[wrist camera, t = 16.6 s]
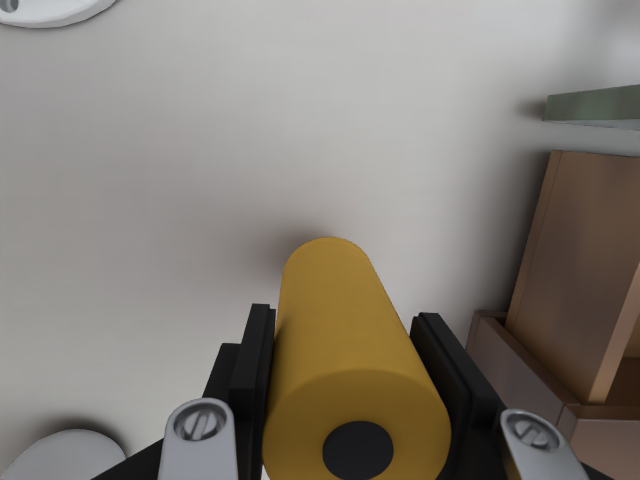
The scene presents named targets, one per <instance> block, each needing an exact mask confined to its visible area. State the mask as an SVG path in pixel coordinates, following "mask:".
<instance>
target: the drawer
mask: <svg viewBox="0 0 640 480" xmlns="http://www.w3.org/2000/svg"><path fill="white" fill-rule="evenodd" d="M542 121H547V122H558V123H568V124H579V125H589V126H600V127H611V128H621V129H632V130H640V84H638V85H630V86H621V87H613V88H605V89H597V90H588V91H580V92H572V93H564V94H555V95H549V96H548V99H547V103H546V106H545V110H544V114H543V118H542ZM504 329H505V330H506V331H507V332H508V333H510V334H511V335H512V336H513V337H514V338H515V339H516V340H517V341H518V342H519V343H520V344H521V345H522V346H523V347H524V348H525V349H526V350H527V351H528V352H529V353H530V354H531V355H532V356H533V357H534V358H535V359H536V360H537V361H538V362H539V363H540V364H541V365H542V366H543V367H544V368H545V369H546V370H547V371H548V372H549V373H550V374H551V375H552V376H553V377H554V378H555V379H556V380H557V381H558V382H559V383H560V384H561V385H562V386H563V387H564V388H565V389H566V390H567V391H568V392H569V393H570V394H571V395H572V396H573V397H574V398H575V399H576V400H577V401H578V402H579V403H580V404H581V405H587V406H621V407H640V157H631V156H620V155H609V154H597V153H586V152H575V151H563V150H552V151H551V155H550V159H549V162H548V166H547V170H546V174H545V177H544V181H543V185H542V188H541V192H540V196H539V200H538V203H537V207H536V211H535V215H534V218H533V222H532V226H531V229H530V233H529V237H528V241H527V244H526V248H525V252H524V256H523V259H522V263H521V267H520V270H519V274H518V278H517V282H516V285H515V289H514V293H513V297H512V300H511V304H510V308H509V311H508V315H507V319H506V323H505V326H504Z"/></svg>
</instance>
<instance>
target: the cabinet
mask: <svg viewBox="0 0 640 480" xmlns="http://www.w3.org/2000/svg"><path fill="white" fill-rule="evenodd" d="M507 315H508V312H494V311H475V312H474V317H473V321H472V325H471V329H470V333H469V338H468V342H467V346H466V352H467V353H468V354H469V356H470V357H471V358H472V360H473V361H474V363H475V364H476V365H477V367H478V368H479V369H480V371H481V372H482V373H483V375H484V376H485V377H486V379H487V380H488V382H489V383H490V384H491V386H492V387H493V388H494V390H495V391H496V392H497V394H498V395H499V396H500V399H501V400H502V401H503V403H504V404H505V406H506V407H507V408H508V409H512V408H517V409H524V410H528V411H531V412H534V413H536V414H538V415H540V416H542V417H544V418H545V419H547V420H549V421H550V422H552V423H553V424H554V425H555V426H556V427H557V428H558V429H559V430H560V431H561V432H562V433H563V435H564V436H565V437H566V439H567V441H568V443H569V444H570V446H571V448H572V449H573V451H574V453H575V454H576V456H577V458H578V460H579V461H581V462H583V463H585V464H587V465H589V466H590V467H592V468H594V469H596V470H598V471H600V472H602V473H603V474H605V475H607V476H609V477H611V478H613V479H615V480H640V407H621V406H587V405H581V404H580V403H579V402H578V401H577V400H576V399H575V398H574V397H573V396H572V395H571V394H570V393H569V392H568V391H567V390H566V389H565V388H564V387H563V386H562V385H561V384H560V383H559V382H558V381H557V380H556V379H555V378H554V377H553V376H552V375H551V374H550V373H549V372H548V371H547V370H546V369H545V368H544V367H543V366H542V365H541V364H540V363H539V362H538V361H537V360H536V359H535V358H534V357H533V356H532V355H531V354H530V353H529V352H528V351H527V350H526V349H525V348H524V347H523V346H522V345H521V344H520V343H519V342H518V341H517V340H516V339H515V338H514V337H513V336H512V335H511V334H510V333H508V332H507V331H506V330H505V329H504V326H505V323H506V319H507Z"/></svg>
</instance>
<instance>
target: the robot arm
mask: <svg viewBox="0 0 640 480" xmlns="http://www.w3.org/2000/svg"><path fill="white" fill-rule="evenodd" d="M115 1H116V0H0V23H3V24H8V25H15V26H21V27H28V28H49V27H62V26H65V25H69V24H73V23H76V22H80V21H83V20H86V19H88V18H90V17H92V16H94V15H96V14H97V13H99V12H101V11H103V10H105V9H106V8H108V7H110V6H111V5H112V4H113V3H114V2H115ZM275 317H276V309H270V304H254V303H253V304H252V307H251V310H250V314H249V317H248V321H247V324H246V328H245V331H244V335H243V339H242V342H241V344H236V343H222V345H221V347H220V350H219V353H218V355H217V358H216V361H215V363H214V366H213V369H212V371H211V374H210V377H209V380H208V382H207V385H206V388H205V390H204V393H203V396H202V398H199V399H195V400H191V401H189V402H186V403H184V404H182V405H181V406H179V407H178V408H177V409H175V410H174V411H173V413H172V414H171V415H170V416H169V418H168V421H167V423H166V427H165V434H164V438H162V439H161V440H159V441H157V442H155V443H154V444H152V445H150V446H148V447H147V448H145V449H143V450H141V451H140V452H138V453H136V454H134V455H133V456H131V457H129V458H127V459H126V460H124V461H122V462H120V463H118V464H117V465H115V466H113V467H111V468H110V469H108V470H106V471H104V472H103V473H101V474H99V475H97V476H96V477H94V478H92V479H90V480H261V475H262V466H263V461H262V457H261V451H262V432H263V424H264V416H265V408H266V400H267V393H268V385H269V377H270V369H271V362H272V354H273V346H274V335H275ZM409 338H410V339H411V341H412V343H413V345H414V347H415V349H416V351H417V353H418V355H419V357H420V359H421V361H422V363H423V365H424V367H425V369H426V371H427V372H428V374H429V376H430V378H431V380H432V382H433V384H434V386H435V388H436V390H437V392H438V394H439V396H440V398H441V400H442V402H443V404H444V405H445V407H446V409H447V412H448V415H449V418H450V422H451V428H452V439H451V444H450V448H449V453H448V456H447V460H446V463H445V465H444V467H443V469H442V471H441V472H440V474H439V475H438V476H437V478H436V479H435V480H615V479H613V478H611V477H609V476H607V475H605V474H603V473H602V472H600V471H598V470H596V469H594V468H592V467H590V466H589V465H587V464H585V463H583V462H581V461H579V460H578V458H577V456H576V454H575V453H574V451H573V449H572V448H571V446H570V444H569V443H568V441H567V439H566V437H565V436H564V435H563V433H562V432H561V431H560V430H559V429H558V428H557V427H556V426H555V425H554V424H553V423H552V422H550V421H549V420H547V419H545V418H544V417H542V416H540V415H538V414H536V413H534V412H531V411H528V410H524V409H517V408H512V409H508V408H507V407H506V406H505V404H504V403H503V401H502V400H501V399H500V396H499V395H498V394H497V392H496V391H495V390H494V388H493V387H492V386H491V384H490V383H489V382H488V380H487V379H486V377H485V376H484V375H483V373H482V372H481V371H480V369H479V368H478V367H477V365H476V364H475V363H474V361H473V360H472V358H471V357H470V356H469V354H468V353H467V352H466V350H465V349H464V348H463V346H462V345H461V344H460V342H459V341H458V340H457V338H456V337H455V335H454V334H453V333H452V331H451V330H450V329H449V327H448V326H447V325H446V323H445V322H444V321H443V319H442V318H441V316H440V315H439V314H438V313H424V312H420V313H419V315H418V317H417V316H414V317H413V320H412V325H411V331H410V336H409Z"/></svg>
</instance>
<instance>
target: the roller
mask: <svg viewBox="0 0 640 480" xmlns="http://www.w3.org/2000/svg"><path fill="white" fill-rule="evenodd" d="M451 439H452V428H451V422H450V418H449V415H448V412H447V409H446V407H445V405H444V404H443V402H442V400H441V398H440V396H439V394H438V392H437V390H436V388H435V386H434V384H433V382H432V380H431V378H430V376H429V374H428V372H427V371H426V369H425V367H424V365H423V363H422V361H421V359H420V357H419V355H418V353H417V351H416V349H415V347H414V345H413V343H412V341H411V339H410V338H409V336H408V334H407V332H406V330H405V328H404V326H403V324H402V322H401V320H400V318H399V316H398V314H397V312H396V310H395V308H394V306H393V305H392V303H391V301H390V299H389V297H388V295H387V293H386V291H385V289H384V287H383V285H382V283H381V281H380V279H379V277H378V275H377V273H376V272H375V270H374V268H373V266H372V264H371V262H370V260H369V258H368V257H367V255H366V254H365V253H364V252H363V251H362V250H361V249H360V248H359V247H358V246H357V245H355V244H353V243H352V242H350V241H347V240H345V239H341V238H336V237H323V238H318V239H314V240H311V241H309V242H307V243H305V244H303V245H302V246H300V247H299V248H298V249H296V250H295V251H294V252H293V253H292V255H291V256H290V257H289V259H288V261H287V262H286V264H285V267H284V270H283V274H282V282H281V290H280V297H279V305H278V313H277V320H276V328H275V336H274V346H273V354H272V362H271V369H270V377H269V385H268V393H267V400H266V408H265V416H264V424H263V432H262V451H261V457H262V461H263V465H264V467H265V470H266V472H267V475H268V477H269V478H270V480H435V479H436V478H437V476H438V475H439V474H440V472H441V471H442V469H443V467H444V465H445V463H446V460H447V456H448V453H449V448H450V444H451Z"/></svg>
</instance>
